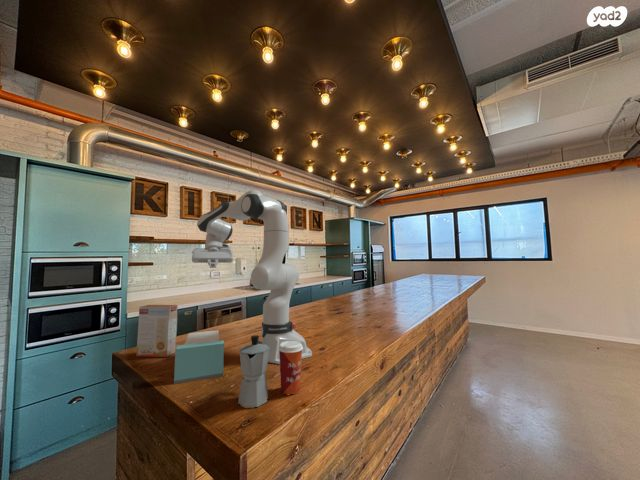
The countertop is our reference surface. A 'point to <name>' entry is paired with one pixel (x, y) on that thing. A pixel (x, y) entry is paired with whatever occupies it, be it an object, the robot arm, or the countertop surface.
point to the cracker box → (157, 330)
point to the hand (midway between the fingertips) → (212, 266)
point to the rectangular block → (198, 361)
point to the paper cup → (290, 366)
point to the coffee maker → (253, 373)
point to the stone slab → (202, 337)
